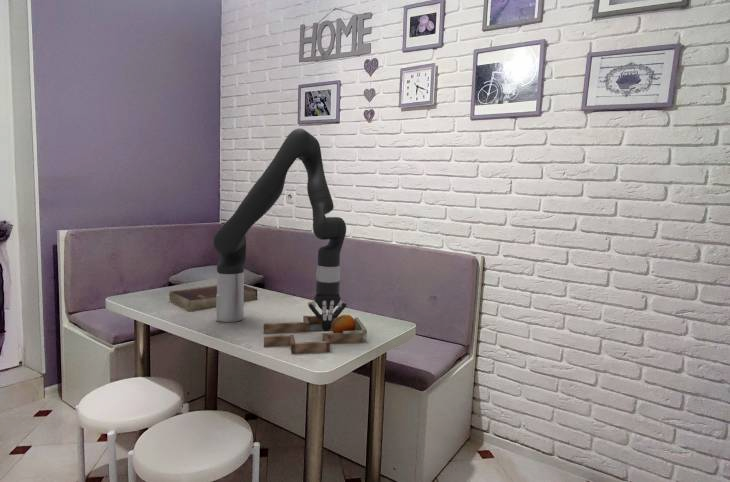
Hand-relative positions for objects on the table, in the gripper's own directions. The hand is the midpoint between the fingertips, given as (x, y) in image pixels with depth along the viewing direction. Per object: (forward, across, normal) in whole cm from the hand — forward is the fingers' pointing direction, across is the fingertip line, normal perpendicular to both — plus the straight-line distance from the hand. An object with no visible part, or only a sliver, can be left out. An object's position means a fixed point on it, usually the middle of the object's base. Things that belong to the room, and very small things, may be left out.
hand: (326, 330), depth 147 cm
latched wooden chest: (+3, -40, +49) cm, 63 cm away
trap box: (+2, -4, 0) cm, 4 cm away
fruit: (+2, +6, 0) cm, 6 cm away
